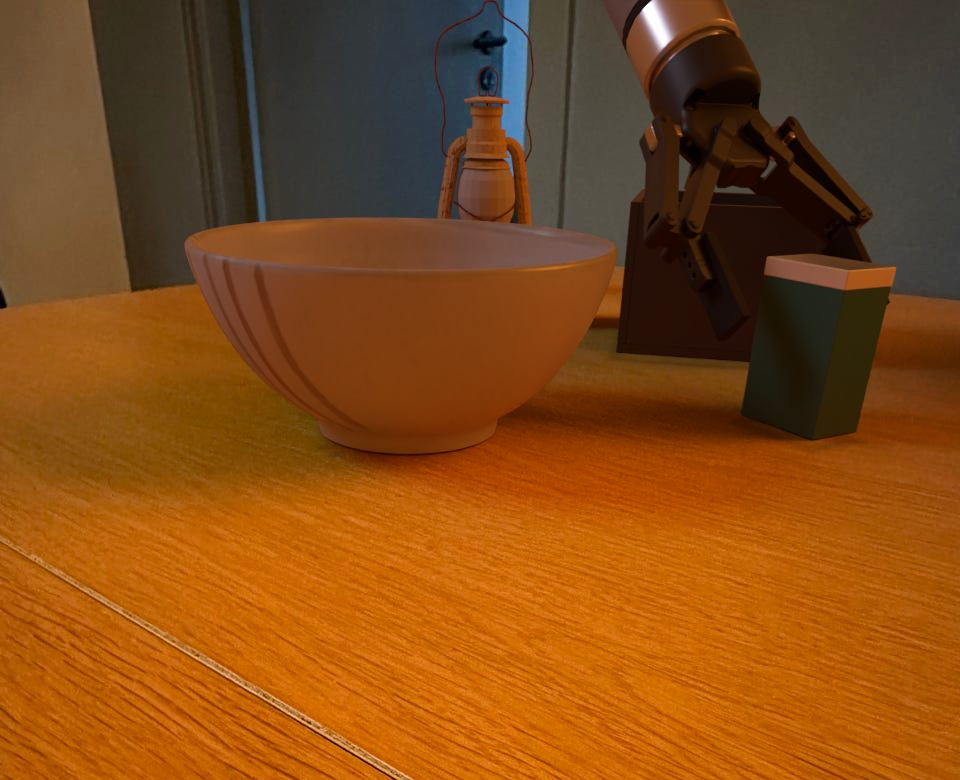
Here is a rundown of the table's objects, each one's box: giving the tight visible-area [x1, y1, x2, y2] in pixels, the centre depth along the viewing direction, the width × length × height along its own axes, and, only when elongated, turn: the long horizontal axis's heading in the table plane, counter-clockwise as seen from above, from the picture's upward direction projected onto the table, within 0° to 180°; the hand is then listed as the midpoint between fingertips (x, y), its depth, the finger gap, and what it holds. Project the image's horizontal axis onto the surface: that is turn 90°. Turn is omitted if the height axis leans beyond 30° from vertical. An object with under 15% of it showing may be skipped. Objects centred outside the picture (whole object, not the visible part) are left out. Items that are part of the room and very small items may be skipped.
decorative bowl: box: [184, 217, 619, 455], centre depth 60 cm, size 27×27×12 cm
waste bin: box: [615, 188, 833, 362], centre depth 87 cm, size 18×18×13 cm
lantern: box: [433, 0, 535, 225], centre depth 105 cm, size 12×10×30 cm
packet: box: [740, 254, 897, 441], centre depth 63 cm, size 5×7×11 cm, turn 30°
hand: (807, 321), depth 63 cm, fingers open, 13 cm apart
